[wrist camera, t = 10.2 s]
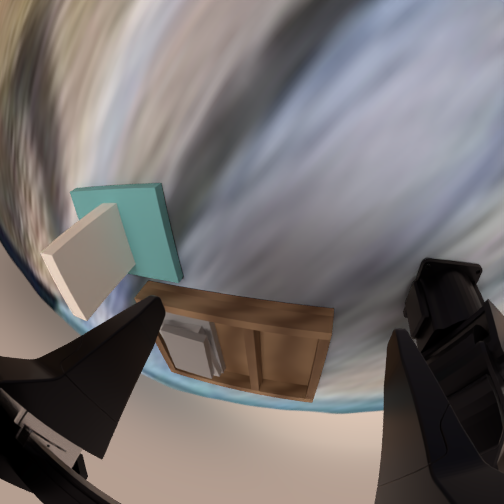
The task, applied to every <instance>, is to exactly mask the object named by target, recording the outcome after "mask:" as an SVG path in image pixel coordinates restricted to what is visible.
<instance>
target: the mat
mask: <svg viewBox="0 0 504 504" xmlns="http://www.w3.org/2000/svg"><path fill="white" fill-rule="evenodd" d="M70 194H71V197H72V200H73V203H74V206H75V210H76V212H77V215H78V218H79V220H80V219H82V218H83V217H84V216H86V215H87V214H88V213H90V212H91V211H92V210H94V209H95V208H96V207H98V206H99V205H101V204H102V203H117V207H118V210H119V214H120V217H121V221H122V224H123V227H124V230H125V234H126V237H127V240H128V243H129V246H130V249H131V252H132V255H133V258H134V261H135V263H136V264H135V265H134V266H133V268H132V269H131V270H130V271H129V272H128V274H133V275H138V276H143V277H149V278H154V279H159V280H165V281H171V282H176V283H179V282H180V281H181V279H182V278H183V274H182V271H181V267H180V263H179V259H178V255H177V251H176V247H175V243H174V239H173V235H172V231H171V226H170V222H169V218H168V213H167V209H166V204H165V199H164V195H163V190H162V185H161V183H149V184H126V185H110V186H96V187H84V188H76V189H74V190H73V191H71V192H70Z"/></svg>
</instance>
